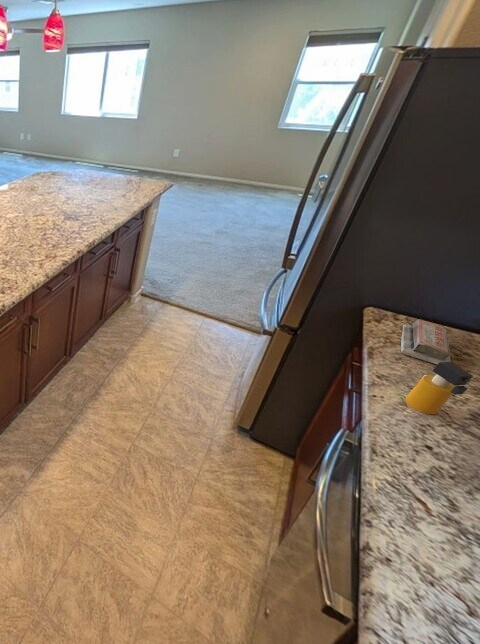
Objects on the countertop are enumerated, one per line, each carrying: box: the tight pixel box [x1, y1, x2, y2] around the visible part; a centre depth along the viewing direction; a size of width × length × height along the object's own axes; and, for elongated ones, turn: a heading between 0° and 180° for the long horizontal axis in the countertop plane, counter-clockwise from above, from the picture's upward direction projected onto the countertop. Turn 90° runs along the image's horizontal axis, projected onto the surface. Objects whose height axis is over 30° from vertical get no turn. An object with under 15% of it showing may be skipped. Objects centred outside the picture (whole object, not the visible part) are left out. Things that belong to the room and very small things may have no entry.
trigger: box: [451, 385, 468, 395], centre depth 91 cm, size 1×2×2 cm, turn 92°
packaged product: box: [400, 319, 452, 365], centre depth 115 cm, size 18×5×10 cm
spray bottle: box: [405, 361, 474, 415], centre depth 94 cm, size 6×6×14 cm
